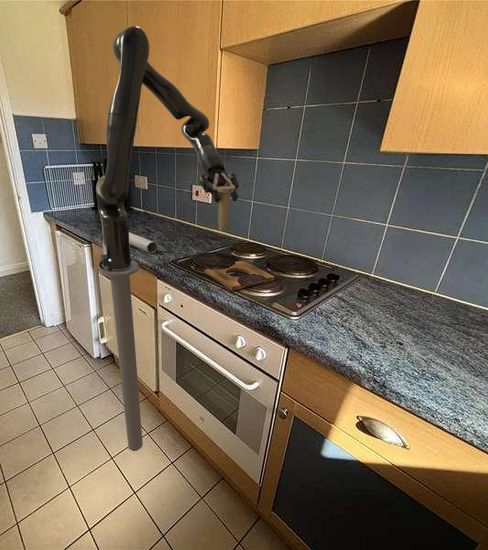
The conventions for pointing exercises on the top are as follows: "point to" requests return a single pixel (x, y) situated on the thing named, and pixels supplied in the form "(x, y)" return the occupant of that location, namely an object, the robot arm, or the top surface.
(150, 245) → the tube
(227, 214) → the handle
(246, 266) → the base pad
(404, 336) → the top surface
